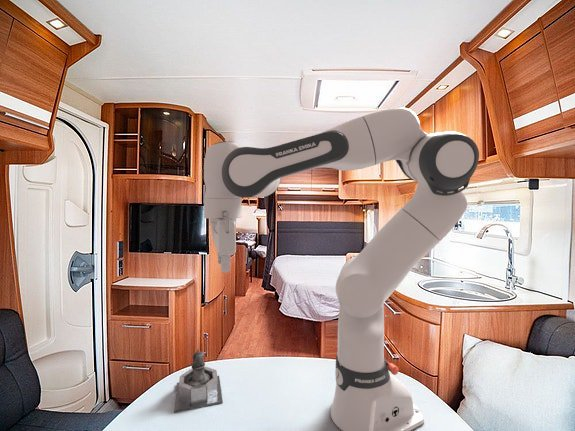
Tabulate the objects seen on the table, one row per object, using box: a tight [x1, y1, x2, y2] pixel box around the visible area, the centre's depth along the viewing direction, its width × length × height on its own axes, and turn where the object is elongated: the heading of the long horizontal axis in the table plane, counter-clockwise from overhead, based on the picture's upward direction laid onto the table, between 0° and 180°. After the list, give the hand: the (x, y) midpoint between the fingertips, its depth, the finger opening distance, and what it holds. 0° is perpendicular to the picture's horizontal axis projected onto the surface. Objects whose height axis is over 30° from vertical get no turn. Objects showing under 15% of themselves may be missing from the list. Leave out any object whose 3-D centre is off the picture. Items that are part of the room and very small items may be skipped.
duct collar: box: [173, 366, 224, 413], centre depth 81 cm, size 12×12×5 cm
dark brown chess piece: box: [187, 348, 210, 386], centre depth 81 cm, size 6×6×12 cm
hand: (223, 267), depth 71 cm, fingers open, 8 cm apart
